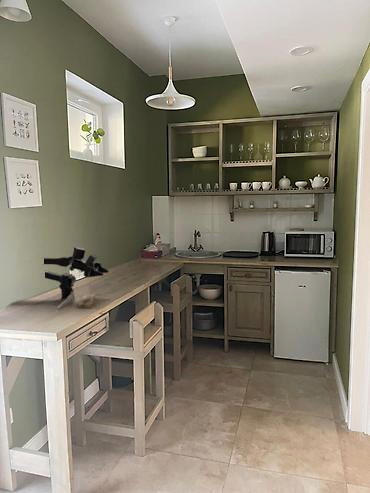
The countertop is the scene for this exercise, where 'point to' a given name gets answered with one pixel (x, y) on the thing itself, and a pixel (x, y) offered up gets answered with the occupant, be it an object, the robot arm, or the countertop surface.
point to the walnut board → (87, 301)
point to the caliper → (67, 300)
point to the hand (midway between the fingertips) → (105, 273)
